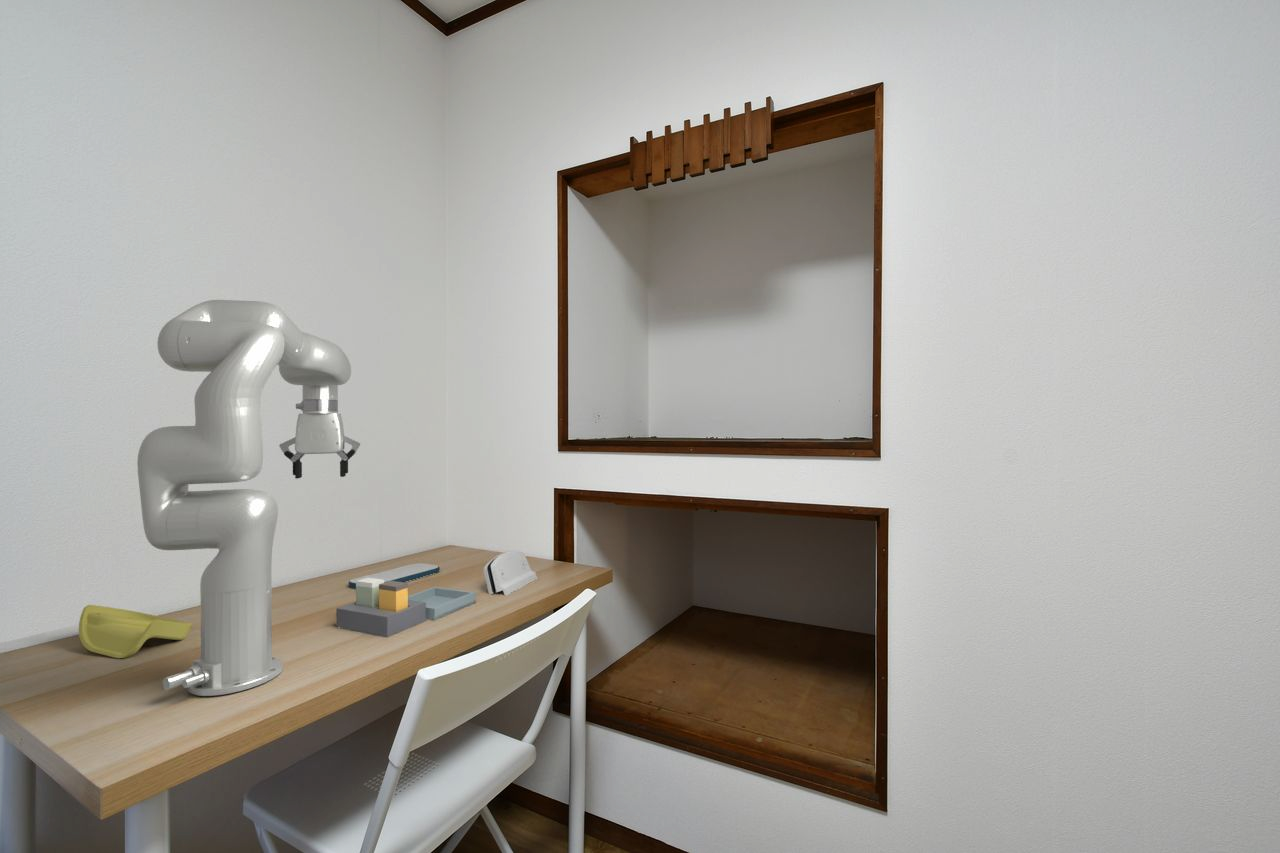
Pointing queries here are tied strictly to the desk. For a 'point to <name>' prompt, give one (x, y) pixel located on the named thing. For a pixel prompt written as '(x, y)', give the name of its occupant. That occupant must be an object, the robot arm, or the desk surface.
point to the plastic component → (124, 630)
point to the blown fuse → (393, 596)
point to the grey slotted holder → (508, 572)
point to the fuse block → (377, 612)
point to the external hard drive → (401, 573)
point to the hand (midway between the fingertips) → (321, 477)
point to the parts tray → (443, 601)
